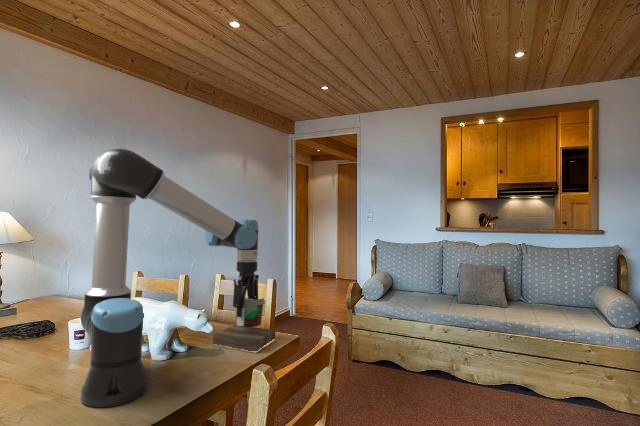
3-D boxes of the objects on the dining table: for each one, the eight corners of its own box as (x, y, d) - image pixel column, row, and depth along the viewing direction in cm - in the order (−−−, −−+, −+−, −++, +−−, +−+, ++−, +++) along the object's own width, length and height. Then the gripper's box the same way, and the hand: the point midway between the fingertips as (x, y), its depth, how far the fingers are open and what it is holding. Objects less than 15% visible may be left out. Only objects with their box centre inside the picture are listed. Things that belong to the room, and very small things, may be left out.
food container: (226, 325, 132) (227, 298, 132) (235, 321, 138) (235, 295, 138) (256, 329, 128) (257, 301, 128) (264, 324, 134) (265, 298, 134)
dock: (256, 353, 123) (256, 341, 123) (212, 345, 130) (213, 334, 130) (275, 340, 136) (275, 330, 136) (234, 334, 143) (235, 324, 143)
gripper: (241, 264, 123) (239, 331, 123) (268, 258, 141) (267, 317, 141) (223, 262, 126) (221, 328, 125) (252, 257, 144) (250, 315, 143)
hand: (245, 322), depth 133 cm, fingers closed on food container, 6 cm apart
